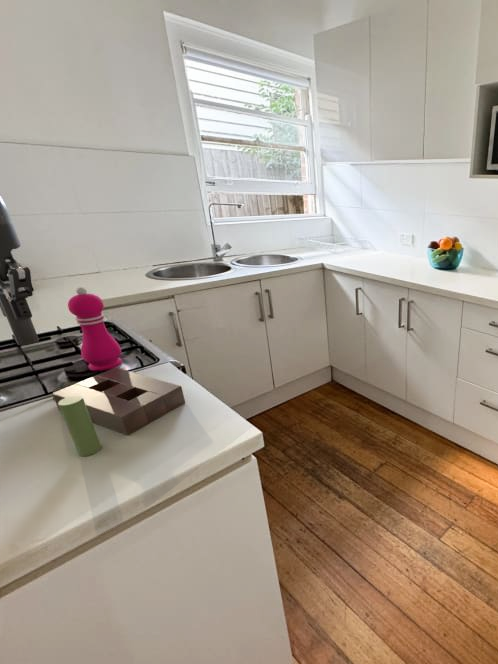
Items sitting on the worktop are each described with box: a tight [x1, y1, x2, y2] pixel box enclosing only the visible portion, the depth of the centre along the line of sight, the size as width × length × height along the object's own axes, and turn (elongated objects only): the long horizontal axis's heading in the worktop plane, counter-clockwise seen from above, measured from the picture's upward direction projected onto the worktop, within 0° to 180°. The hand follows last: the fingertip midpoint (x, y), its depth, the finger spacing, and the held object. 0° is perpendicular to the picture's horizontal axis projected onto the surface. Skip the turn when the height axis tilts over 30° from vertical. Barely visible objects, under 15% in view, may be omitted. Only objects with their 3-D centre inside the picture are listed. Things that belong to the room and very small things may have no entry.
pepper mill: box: [67, 286, 123, 372], centre depth 86 cm, size 7×7×20 cm
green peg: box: [58, 395, 102, 457], centre depth 62 cm, size 3×3×10 cm
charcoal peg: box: [0, 291, 40, 346], centre depth 71 cm, size 3×3×10 cm
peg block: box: [51, 367, 186, 436], centre depth 75 cm, size 12×20×4 cm, turn 69°
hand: (18, 317), depth 71 cm, fingers closed on charcoal peg, 3 cm apart
